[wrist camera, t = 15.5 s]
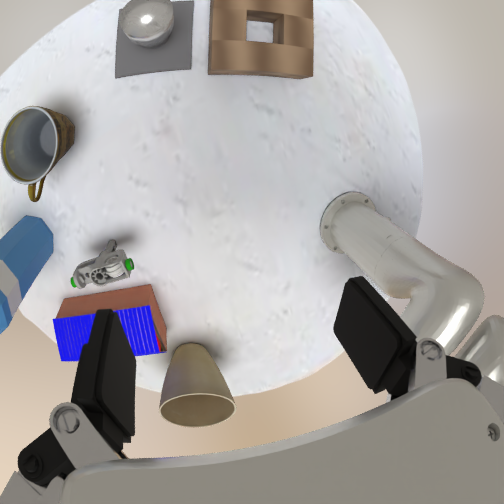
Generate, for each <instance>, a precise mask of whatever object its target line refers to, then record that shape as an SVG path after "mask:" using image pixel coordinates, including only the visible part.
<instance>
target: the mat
mask: <svg viewBox="0 0 504 504" xmlns="http://www.w3.org/2000/svg"><path fill="white" fill-rule="evenodd" d="M171 3H172V5H173V16H174V26H173V29H172V31H171V33H170V34H169V37H168V39H167V41H166V42H165V43H164V44H163V45H162V46H160V47H158V48H155V49H147V48H145V47H143V46H140V45H137V44H135V43H133V42H132V41H131V40H130V39H129V38H128V36H127V35H126V34H125V32H124V31H123V30H122V28H121V26H120V23H119V19H118V29H117V42H116V61H115V78H121V77H126V76H132V75H139V74H146V73H154V72H162V71H173V70H186V69H191V43H192V21H193V5H194V0H193V1H175V2H171ZM121 11H122V9H120V10H119V17H120V13H121Z"/></svg>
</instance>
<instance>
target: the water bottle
mask: <svg viewBox="0 0 504 504" xmlns="http://www.w3.org/2000/svg"><path fill="white" fill-rule="evenodd" d="M52 253H53V233H52V232H51V231H50V229H49V228H48V227H47V225H46V224H45V223H44V221H43V220H42V218H37V217H32V216H27V215H26V216H25V217H24V218H23V219H22V220H20V221H19V222H18V223H17V224H16V225H15V226H14V227H13V228H12V229H11V230H10V231H9V232H8V233H7V234H6V235H4V236H3V237H2V238H1V239H0V334H1V333H2V332H3V331H4V330H5V329H6V328H7V327H8V326H9V324H10V322H11V320H12V318H13V316H14V314H15V312H16V311H17V309H18V307H19V305H20V303H21V302H22V300H23V298H24V296H25V295H26V293H27V291H28V290H29V288H30V286H31V285H32V283H33V282H34V280H35V278H36V277H37V275H38V274H39V272H40V271H41V269H42V268H43V266H44V265H45V263H46V262H47V260H48V259H49V257H50V256H51V254H52Z"/></svg>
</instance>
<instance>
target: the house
mask: <svg viewBox="0 0 504 504" xmlns="http://www.w3.org/2000/svg"><path fill="white" fill-rule="evenodd" d="M98 309H112V310H113V312H117V314H118V316H119V319H120V321H121V324H122V327H123V329H124V332H125V334H126V337H127V339H128V342H129V344H130V346H131V349H132V351H133V353H134V356H142V355H150V354H158V353H165V351H167V341H166V326H165V323H164V320H163V318H162V315H161V312H160V309H159V307H158V304H157V301H156V298H155V295H154V292H153V289H152V286H151V284H149V285H143V286H137V287H132V288H126V289H120V290H114V291H108V292H102V293H96V294H90V295H84V296H78V297H71V298H65V299H64V300H63V302H62V305H61V307H60V309H59V312H58V314H57V316H56V319H53V323H54V329H55V334H56V339H57V344H58V349H59V353H60V357H61V361H79V358H80V354H81V350H82V347H83V345H84V344H85V343H88V340H89V336H90V332H91V329H92V325H93V321H94V318H95V314H96V311H97V310H98Z"/></svg>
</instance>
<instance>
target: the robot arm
mask: <svg viewBox="0 0 504 504" xmlns="http://www.w3.org/2000/svg"><path fill="white" fill-rule="evenodd" d="M320 233H321V238H322V240H323V242H324V243H325V245H326V246H327V247H328V248H329V249H330V250H332V251H333V252H336V253H342V254H343V253H345V254H346V255H347V256H348V257H349V258H350V259H351V260H352V261H353V262H354V263H355V264H356V265H357V266H358V267H359V268H360V269H361V270H362V271H363V272H364V273H365V274H366V275H367V276H368V277H369V278H370V279H371V280H372V281H373V282H374V283H375V284H376V285H377V286H378V287H379V288H380V289H381V290H382V291H383V292H384V293H385V294H387V295H388V296H391V297H393V298H401V299H405V298H411V300H410V302H409V304H408V305H407V307H406V308H405V310H404V312H403V313H402V314H401V316H400V317H399V316H398V315H397V313H396V312H395V311H394V310H393V309H392V308H391V306H390V305H389V304H388V303H387V302H386V301H385V300H384V299H383V298H382V296H381V295H380V294H379V293H378V292H377V291H376V290H375V289H374V288H373V287H372V286H371V285H370V283H369V282H368V281H367V280H366V279H365V278H364V277H363V276H359V277H353V278H350V279H349V280H348V282H346V283H345V286H344V290H343V294H342V298H341V302H340V306H339V309H338V313H337V316H336V320H335V323H334V333H335V335H336V337H337V338H338V340H339V341H340V343H341V345H342V346H343V348H344V349H345V351H346V353H347V354H348V355H349V357H350V359H351V361H352V362H353V364H354V365H355V367H356V369H357V370H358V372H359V373H360V375H361V377H362V378H363V380H364V382H365V383H366V385H367V386H368V388H370V389H372V390H373V392H374V393H375V394H377V393H379V392H381V391H383V390H385V389H386V390H387V391H388V395H387V401H386V403H385V404H383V405H381V406H379V407H376V408H374V409H372V410H369V411H367V412H365V413H362V414H360V415H358V416H355V417H353V418H350V419H347V420H345V421H342V422H339V423H336V424H334V425H331V426H328V427H325V428H322V429H319V430H316V431H312V432H309V433H306V434H303V435H299V436H296V437H292V438H288V439H284V440H280V441H277V442H272V443H268V444H263V445H259V446H254V447H250V448H244V449H238V450H232V451H226V452H219V453H211V454H203V455H192V456H181V457H166V458H139V459H129V458H128V457H127V456H126V455H125V454H124V452H123V451H122V449H123V443H131V436H134V435H135V378H136V359H135V356H134V353H133V351H132V349H131V346H130V344H129V342H128V339H127V337H126V334H125V332H124V329H123V327H122V324H121V321H120V319H119V316H118V314H117V312H113V310H112V309H98V310H97V311H96V314H95V318H94V321H93V325H92V329H91V332H90V336H89V340H88V343H85V344H84V345H83V347H82V350H81V354H80V358H79V363H78V367H77V372H76V377H75V382H74V386H73V392H72V398H71V403H69V402H66V403H61V404H59V405H57V407H55V408H54V409H53V411H52V412H51V415H50V419H49V420H50V428H49V429H48V430H47V431H45V432H44V433H43V434H42V435H40V436H39V437H38V438H37V439H36V440H34V441H33V442H32V443H30V444H29V445H28V446H27V447H26V448H24V449H23V450H22V451H21V452H20V454H19V456H18V468H19V471H18V472H16V471H14V473H13V475H12V476H11V478H10V480H9V482H8V484H7V485H6V487H5V489H4V491H3V493H2V495H1V496H0V504H504V318H503V317H501V316H499V315H492V316H490V317H488V318H487V319H486V320H484V321H483V322H482V323H481V325H480V326H479V327H478V328H477V329H476V331H475V332H474V333H473V334H472V336H471V337H470V338H469V340H468V341H467V342H466V343H465V345H464V346H463V347H462V348H461V349H460V351H459V352H458V353H457V354H456V355H455V357H451V356H449V355H450V354H451V353H452V352H453V351H454V350H455V349H456V348H457V346H458V345H459V344H460V343H461V341H462V340H463V339H464V337H465V336H466V335H467V334H468V332H469V331H470V330H471V328H472V327H473V325H474V324H475V322H476V321H477V319H478V317H479V315H480V313H481V310H482V307H483V304H484V291H483V288H482V285H481V284H480V282H479V281H478V280H477V279H476V278H475V277H474V276H473V275H472V274H471V273H469V272H467V271H466V270H464V269H463V268H461V267H459V266H457V265H455V264H454V263H452V262H450V261H448V260H446V259H444V258H443V257H441V256H440V255H438V254H436V253H435V252H433V251H432V250H430V249H429V248H428V247H426V246H425V245H423V244H422V243H420V242H419V241H418V240H416V239H415V238H414V237H412V236H411V235H409V234H408V233H407V232H405V231H404V230H402V229H401V228H399V227H398V226H397V225H395V224H394V223H392V222H391V221H390V218H389V217H383V216H382V215H380V214H379V213H377V212H376V209H375V206H374V204H373V202H372V201H371V200H370V199H369V198H368V197H367V196H365V195H363V194H361V193H358V192H349V193H345V194H343V195H341V196H339V197H338V198H336V199H335V200H334V201H333V202H332V203H331V204H330V205H329V206H328V208H327V209H326V211H325V213H324V214H323V217H322V220H321V226H320Z"/></svg>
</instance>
